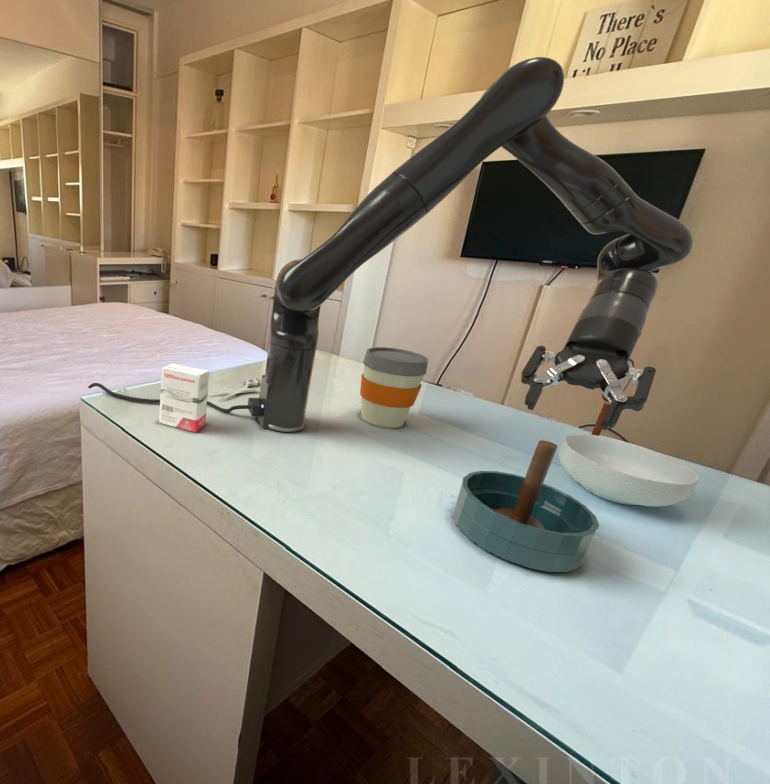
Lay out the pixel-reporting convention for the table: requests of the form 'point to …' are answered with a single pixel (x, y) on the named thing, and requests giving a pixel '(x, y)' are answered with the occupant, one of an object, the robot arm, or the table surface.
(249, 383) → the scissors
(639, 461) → the cereal bowl
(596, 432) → the magnifying glass
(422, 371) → the reusable coffee cup
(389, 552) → the table surface
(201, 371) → the ink box
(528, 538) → the mixing bowl
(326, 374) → the table surface
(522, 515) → the wooden peg stand
